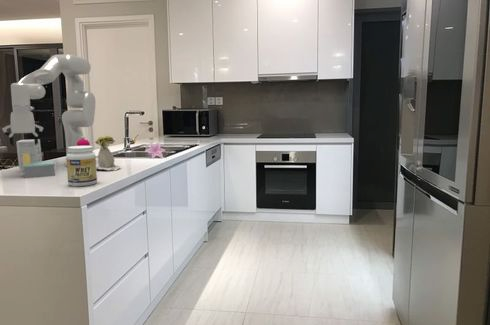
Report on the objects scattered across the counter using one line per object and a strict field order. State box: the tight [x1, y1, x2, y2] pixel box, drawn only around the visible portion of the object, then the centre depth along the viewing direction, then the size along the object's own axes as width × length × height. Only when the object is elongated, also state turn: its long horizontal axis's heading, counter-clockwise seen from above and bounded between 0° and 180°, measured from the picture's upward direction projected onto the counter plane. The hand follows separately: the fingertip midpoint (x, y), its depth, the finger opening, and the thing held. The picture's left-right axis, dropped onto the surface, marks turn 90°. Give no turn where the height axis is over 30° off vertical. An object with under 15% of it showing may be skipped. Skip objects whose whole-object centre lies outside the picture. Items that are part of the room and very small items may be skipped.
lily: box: [144, 141, 166, 159], centre depth 260 cm, size 12×12×10 cm
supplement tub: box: [65, 145, 98, 187], centre depth 179 cm, size 12×12×17 cm
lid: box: [23, 153, 55, 167], centre depth 197 cm, size 13×9×7 cm
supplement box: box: [16, 138, 43, 173], centre depth 211 cm, size 10×9×17 cm
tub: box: [23, 165, 56, 179], centre depth 198 cm, size 13×9×6 cm
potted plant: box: [94, 135, 121, 172], centre depth 216 cm, size 12×13×18 cm
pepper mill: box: [77, 135, 91, 146], centre depth 197 cm, size 7×7×20 cm
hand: (24, 145), depth 193 cm, fingers open, 9 cm apart
